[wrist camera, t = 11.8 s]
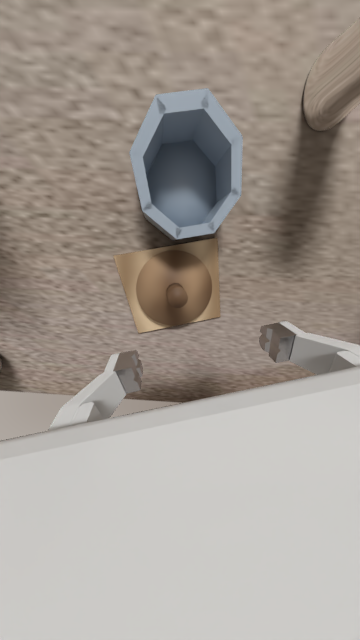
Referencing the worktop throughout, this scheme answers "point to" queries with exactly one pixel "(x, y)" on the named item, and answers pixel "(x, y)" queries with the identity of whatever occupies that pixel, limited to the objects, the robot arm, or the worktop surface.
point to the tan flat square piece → (135, 261)
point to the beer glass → (334, 81)
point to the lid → (174, 287)
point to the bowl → (187, 164)
